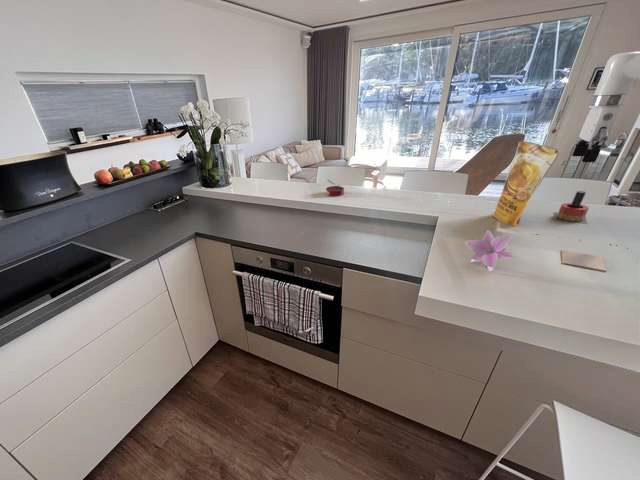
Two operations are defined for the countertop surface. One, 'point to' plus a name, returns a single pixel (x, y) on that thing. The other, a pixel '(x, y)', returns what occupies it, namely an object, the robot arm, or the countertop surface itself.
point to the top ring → (573, 210)
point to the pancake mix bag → (523, 180)
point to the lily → (490, 248)
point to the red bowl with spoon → (334, 190)
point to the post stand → (574, 206)
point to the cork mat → (583, 260)
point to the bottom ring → (570, 217)
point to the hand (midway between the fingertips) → (582, 158)
